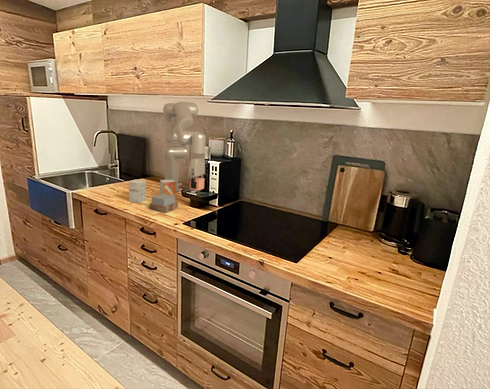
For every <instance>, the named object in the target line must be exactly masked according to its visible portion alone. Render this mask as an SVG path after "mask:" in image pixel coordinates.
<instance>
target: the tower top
mask: <svg viewBox="0 0 490 389" xmlns="http://www.w3.org/2000/svg"><path fill="white" fill-rule="evenodd" d="M175 202H176V195H175V196H171V195H167V194H160V193H159V194H157V195H153V196H151V203H152V204H156V205H160V206H163V207H165V206H167V205H170V204H173V203H175Z"/></svg>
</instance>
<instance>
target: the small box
mask: <svg viewBox="0 0 490 389" xmlns="http://www.w3.org/2000/svg"><path fill="white" fill-rule="evenodd" d="M176 193H177V192H176V182H175V181H174V180H165V179H160V180H159V195H160V194H167V195H171V196H175V197H176Z"/></svg>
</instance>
